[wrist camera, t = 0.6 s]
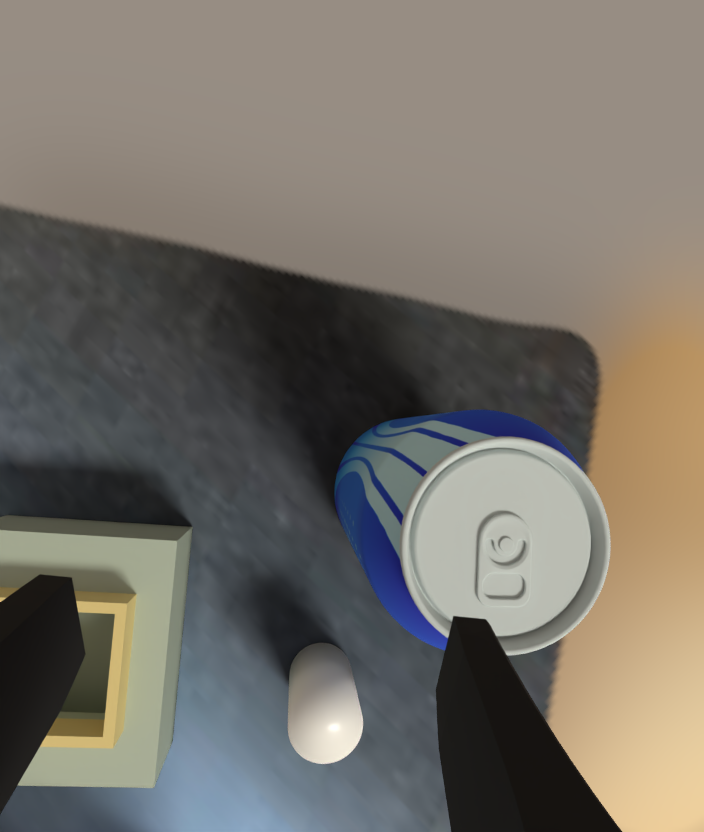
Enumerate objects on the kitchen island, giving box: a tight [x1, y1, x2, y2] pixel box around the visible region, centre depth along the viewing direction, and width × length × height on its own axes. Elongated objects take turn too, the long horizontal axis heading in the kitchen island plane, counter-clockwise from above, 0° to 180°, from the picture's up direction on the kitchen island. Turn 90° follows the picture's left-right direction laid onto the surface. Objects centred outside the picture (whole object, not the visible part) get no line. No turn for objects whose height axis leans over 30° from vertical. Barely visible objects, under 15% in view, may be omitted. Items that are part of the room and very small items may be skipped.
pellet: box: [288, 643, 363, 764], centre depth 29 cm, size 4×4×6 cm
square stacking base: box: [0, 515, 193, 788], centre depth 27 cm, size 12×10×6 cm
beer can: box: [335, 410, 610, 655], centre depth 24 cm, size 8×8×16 cm
